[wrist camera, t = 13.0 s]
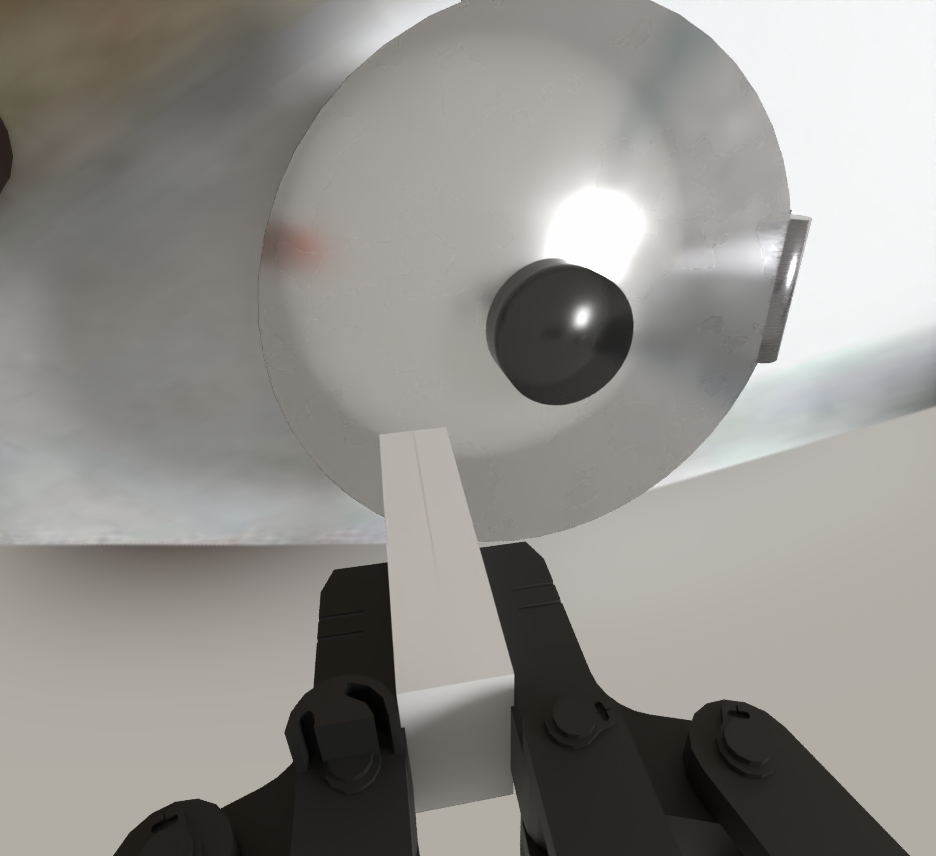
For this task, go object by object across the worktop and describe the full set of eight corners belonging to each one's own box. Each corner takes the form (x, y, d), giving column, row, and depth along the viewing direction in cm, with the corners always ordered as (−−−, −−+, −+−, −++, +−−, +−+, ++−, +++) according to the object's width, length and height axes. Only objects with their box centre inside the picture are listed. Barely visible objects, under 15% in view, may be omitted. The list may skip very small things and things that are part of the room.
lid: (843, -10, 20) (932, -29, 18) (730, 479, 31) (774, 517, 28) (187, -11, 16) (164, -36, 13) (313, 561, 26) (315, 616, 24)
